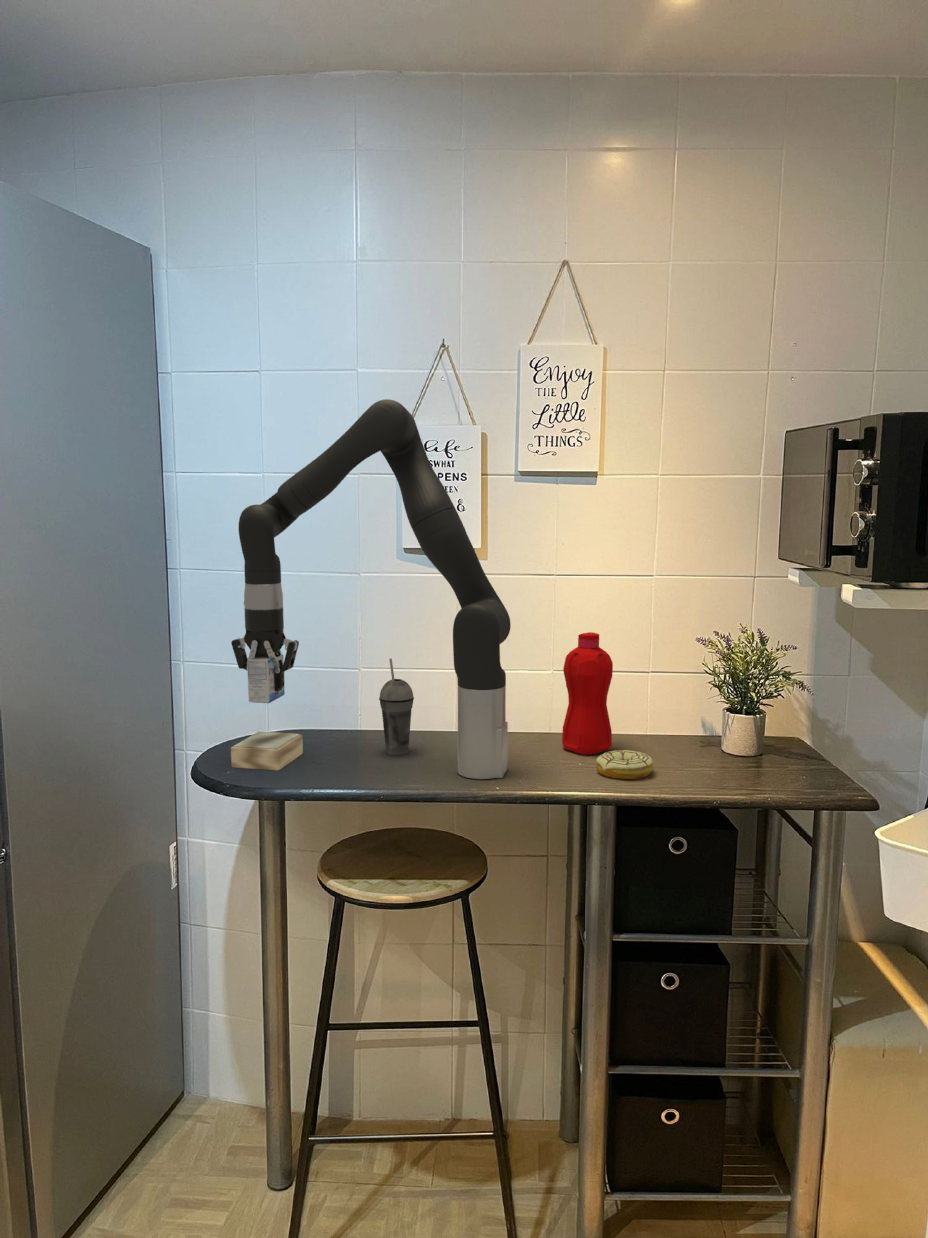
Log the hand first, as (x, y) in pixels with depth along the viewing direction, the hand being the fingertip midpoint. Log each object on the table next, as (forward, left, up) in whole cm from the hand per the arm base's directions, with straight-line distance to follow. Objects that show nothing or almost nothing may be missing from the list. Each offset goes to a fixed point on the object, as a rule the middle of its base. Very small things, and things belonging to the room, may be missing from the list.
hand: (266, 689), depth 175 cm
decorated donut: (-71, -7, -15) cm, 73 cm away
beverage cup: (-24, -11, -15) cm, 30 cm away
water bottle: (-62, -22, -15) cm, 67 cm away
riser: (0, 0, -15) cm, 15 cm away
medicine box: (0, 0, -2) cm, 2 cm away
